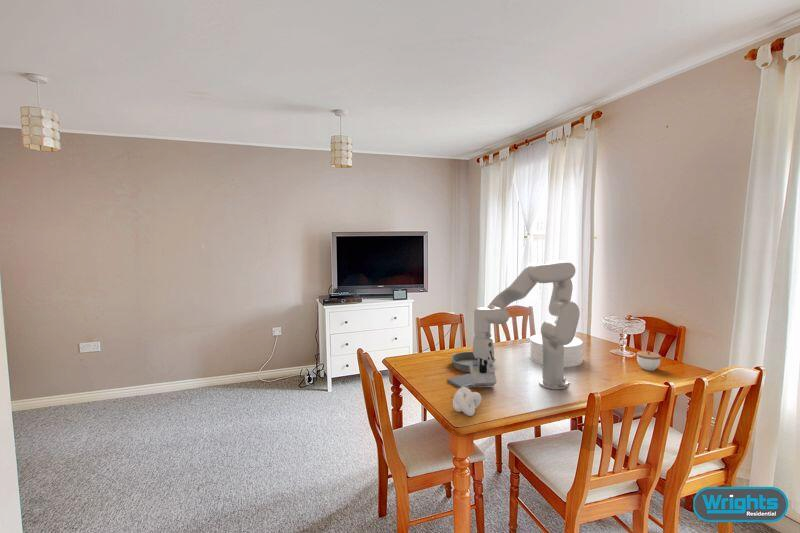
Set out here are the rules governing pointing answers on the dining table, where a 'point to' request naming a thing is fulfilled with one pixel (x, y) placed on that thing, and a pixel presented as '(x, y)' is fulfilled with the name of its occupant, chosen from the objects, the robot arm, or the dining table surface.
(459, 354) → the cake pan
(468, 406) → the white decorative knot
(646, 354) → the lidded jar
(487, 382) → the light bulb box
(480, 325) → the robot arm
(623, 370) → the dining table surface
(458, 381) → the mat
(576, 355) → the plate stack
